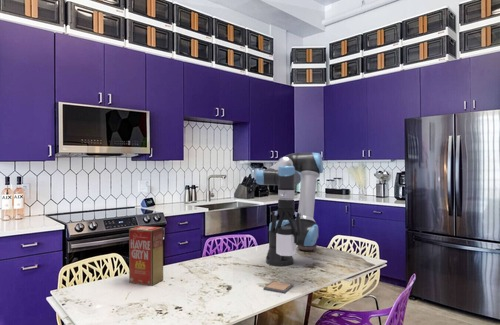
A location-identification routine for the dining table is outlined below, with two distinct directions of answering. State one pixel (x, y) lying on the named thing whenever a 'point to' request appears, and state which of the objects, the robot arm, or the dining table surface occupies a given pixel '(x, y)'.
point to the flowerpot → (308, 247)
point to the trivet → (278, 287)
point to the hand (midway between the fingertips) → (285, 249)
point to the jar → (284, 241)
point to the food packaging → (146, 255)
